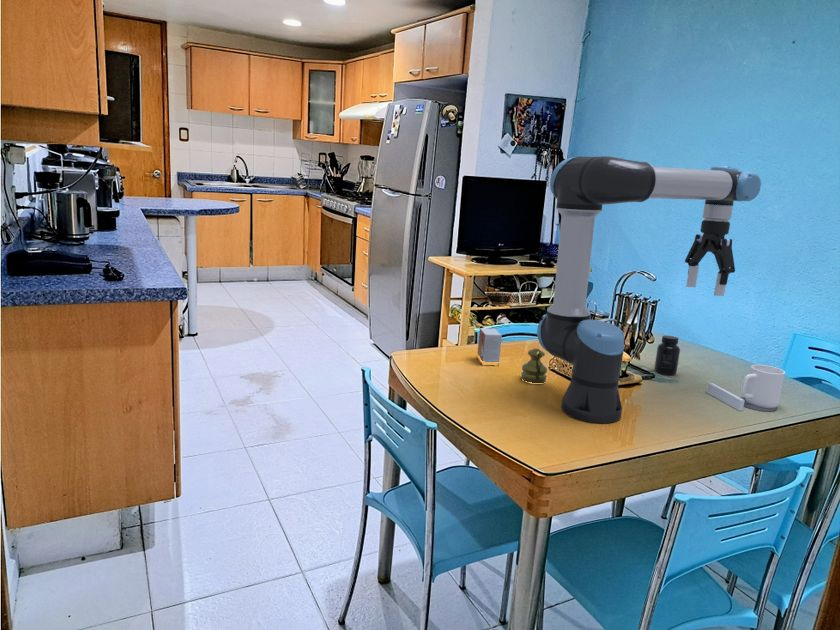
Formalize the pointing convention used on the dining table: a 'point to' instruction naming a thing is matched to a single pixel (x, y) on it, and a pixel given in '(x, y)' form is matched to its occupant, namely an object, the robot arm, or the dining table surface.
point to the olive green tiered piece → (534, 368)
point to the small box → (489, 345)
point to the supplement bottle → (667, 356)
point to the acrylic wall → (725, 396)
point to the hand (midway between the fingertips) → (704, 291)
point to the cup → (763, 386)
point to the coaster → (757, 407)
